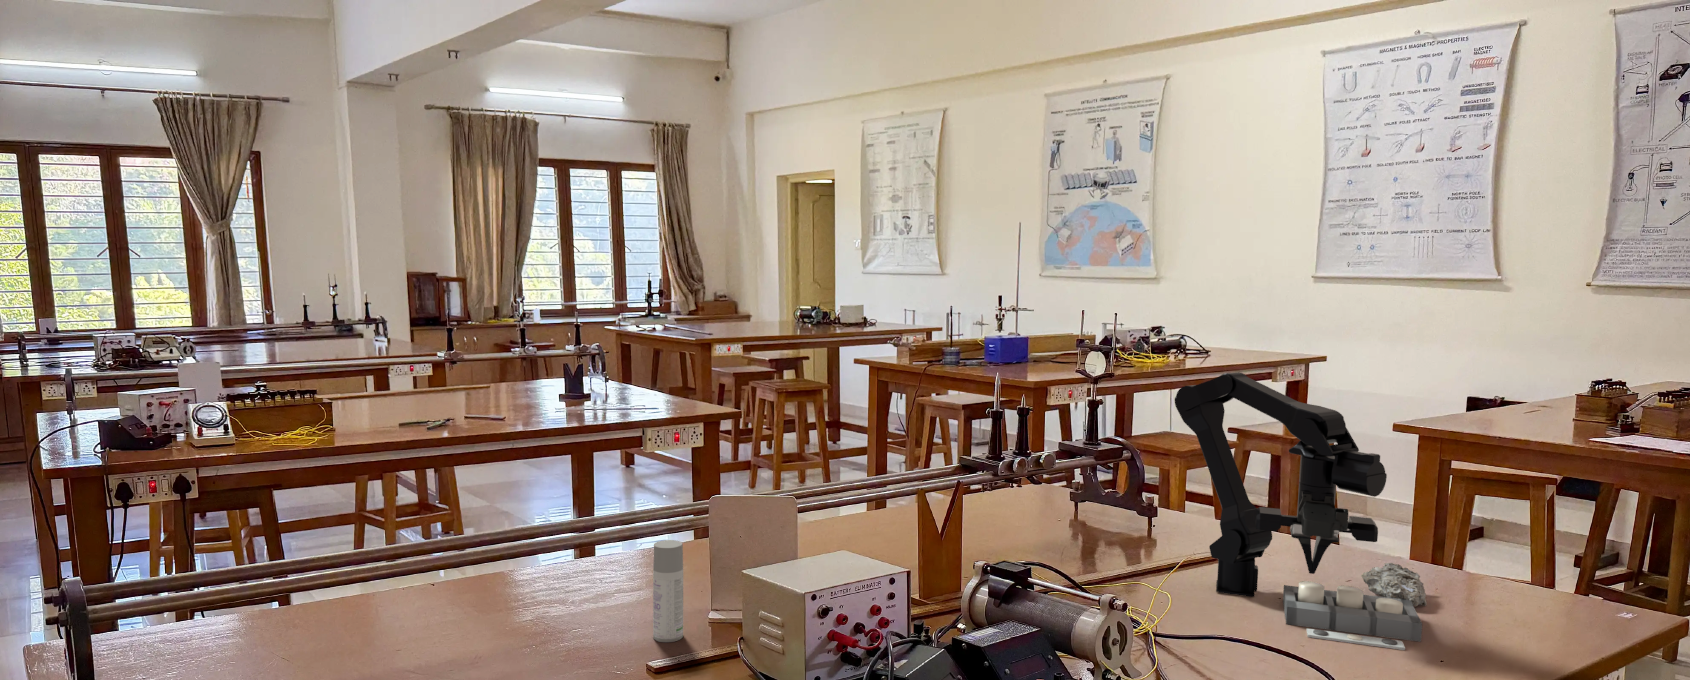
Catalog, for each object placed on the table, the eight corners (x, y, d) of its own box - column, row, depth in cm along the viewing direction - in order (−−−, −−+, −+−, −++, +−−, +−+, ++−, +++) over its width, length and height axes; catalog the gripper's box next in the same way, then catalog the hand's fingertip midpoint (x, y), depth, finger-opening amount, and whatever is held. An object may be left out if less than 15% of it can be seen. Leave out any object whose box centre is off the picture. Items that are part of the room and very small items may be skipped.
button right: (1376, 625, 172) (1377, 604, 171) (1373, 617, 176) (1374, 596, 175) (1403, 628, 170) (1404, 607, 170) (1399, 620, 174) (1401, 599, 174)
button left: (1298, 607, 176) (1299, 586, 176) (1296, 600, 180) (1298, 579, 179) (1324, 610, 174) (1325, 589, 174) (1322, 603, 178) (1323, 582, 178)
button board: (1286, 623, 173) (1287, 606, 173) (1282, 601, 184) (1283, 584, 184) (1420, 641, 166) (1422, 623, 166) (1408, 617, 177) (1410, 600, 177)
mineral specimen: (1420, 595, 191) (1439, 612, 179) (1356, 591, 193) (1371, 608, 182) (1420, 563, 191) (1439, 578, 179) (1356, 560, 193) (1371, 574, 182)
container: (647, 639, 161) (647, 546, 160) (662, 629, 166) (662, 538, 164) (673, 644, 160) (673, 549, 158) (688, 633, 164) (688, 541, 163)
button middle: (1337, 612, 174) (1338, 591, 173) (1334, 604, 177) (1336, 584, 177) (1363, 615, 172) (1364, 594, 172) (1360, 607, 176) (1361, 587, 176)
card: (1307, 636, 167) (1308, 633, 167) (1306, 630, 170) (1306, 627, 170) (1404, 650, 162) (1405, 646, 162) (1401, 643, 165) (1402, 639, 165)
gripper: (1259, 488, 171) (1254, 579, 172) (1385, 500, 164) (1378, 595, 166) (1257, 474, 181) (1252, 561, 183) (1376, 485, 175) (1369, 574, 176)
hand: (1311, 573), depth 177 cm, fingers closed
